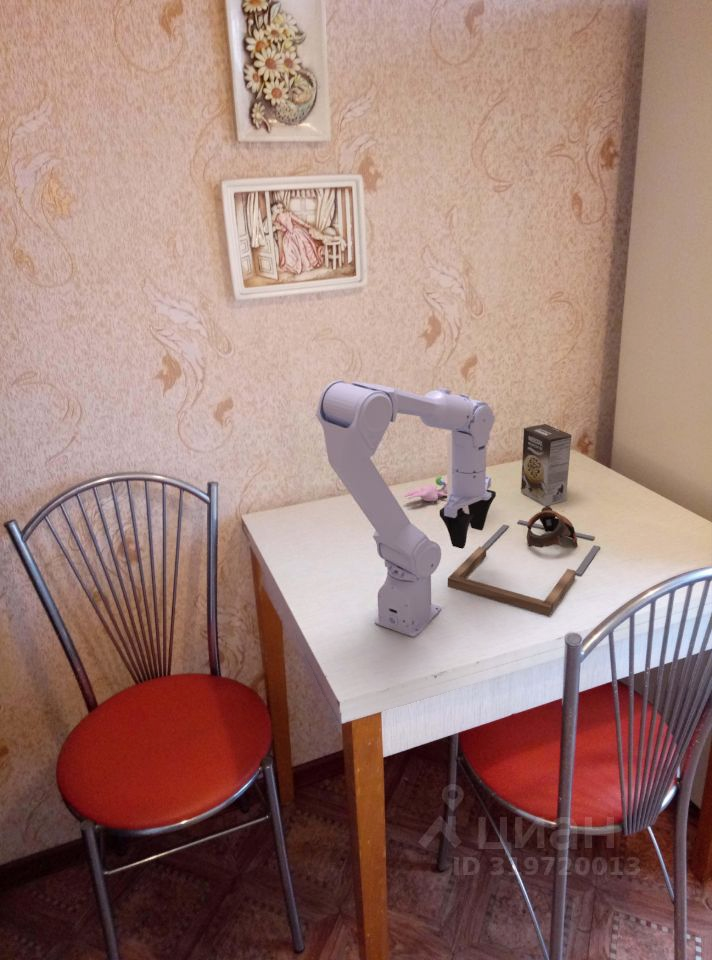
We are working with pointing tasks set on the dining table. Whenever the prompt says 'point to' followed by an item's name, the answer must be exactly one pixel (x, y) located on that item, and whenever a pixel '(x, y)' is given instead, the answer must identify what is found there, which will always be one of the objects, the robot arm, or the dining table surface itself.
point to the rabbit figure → (429, 491)
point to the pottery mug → (550, 529)
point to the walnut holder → (505, 596)
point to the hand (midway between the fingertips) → (467, 537)
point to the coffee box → (545, 464)
